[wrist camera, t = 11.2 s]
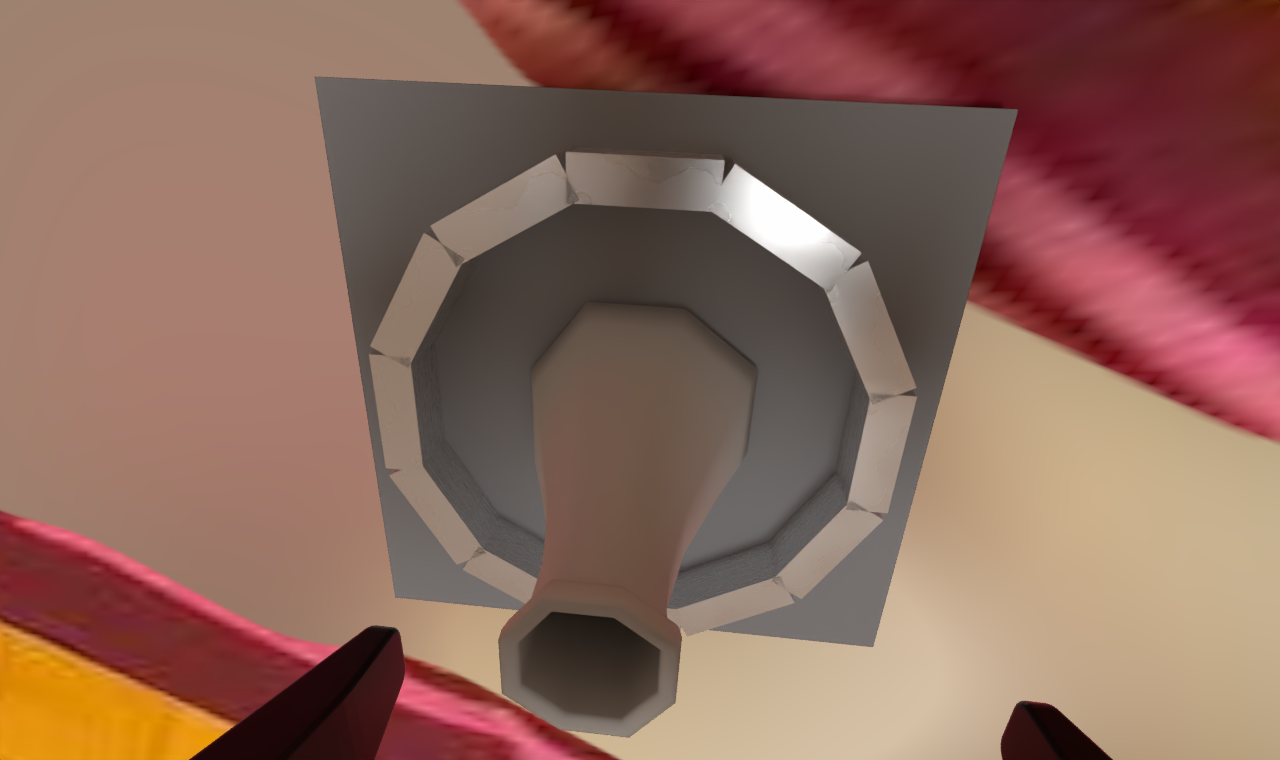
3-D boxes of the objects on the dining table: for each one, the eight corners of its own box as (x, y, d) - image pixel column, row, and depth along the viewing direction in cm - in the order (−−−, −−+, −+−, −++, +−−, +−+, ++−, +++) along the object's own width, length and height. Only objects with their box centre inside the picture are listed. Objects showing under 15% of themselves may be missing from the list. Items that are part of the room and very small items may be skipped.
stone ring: (945, 166, 16) (973, 173, 14) (840, 614, 22) (851, 654, 20) (373, 136, 17) (337, 139, 15) (427, 572, 23) (406, 608, 21)
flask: (701, 532, 21) (700, 853, 12) (502, 457, 21) (345, 734, 12) (799, 351, 18) (894, 596, 9) (568, 259, 18) (428, 422, 9)
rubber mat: (1004, 109, 16) (1018, 109, 15) (867, 630, 23) (873, 647, 23) (331, 77, 17) (314, 76, 16) (404, 582, 25) (395, 597, 24)
